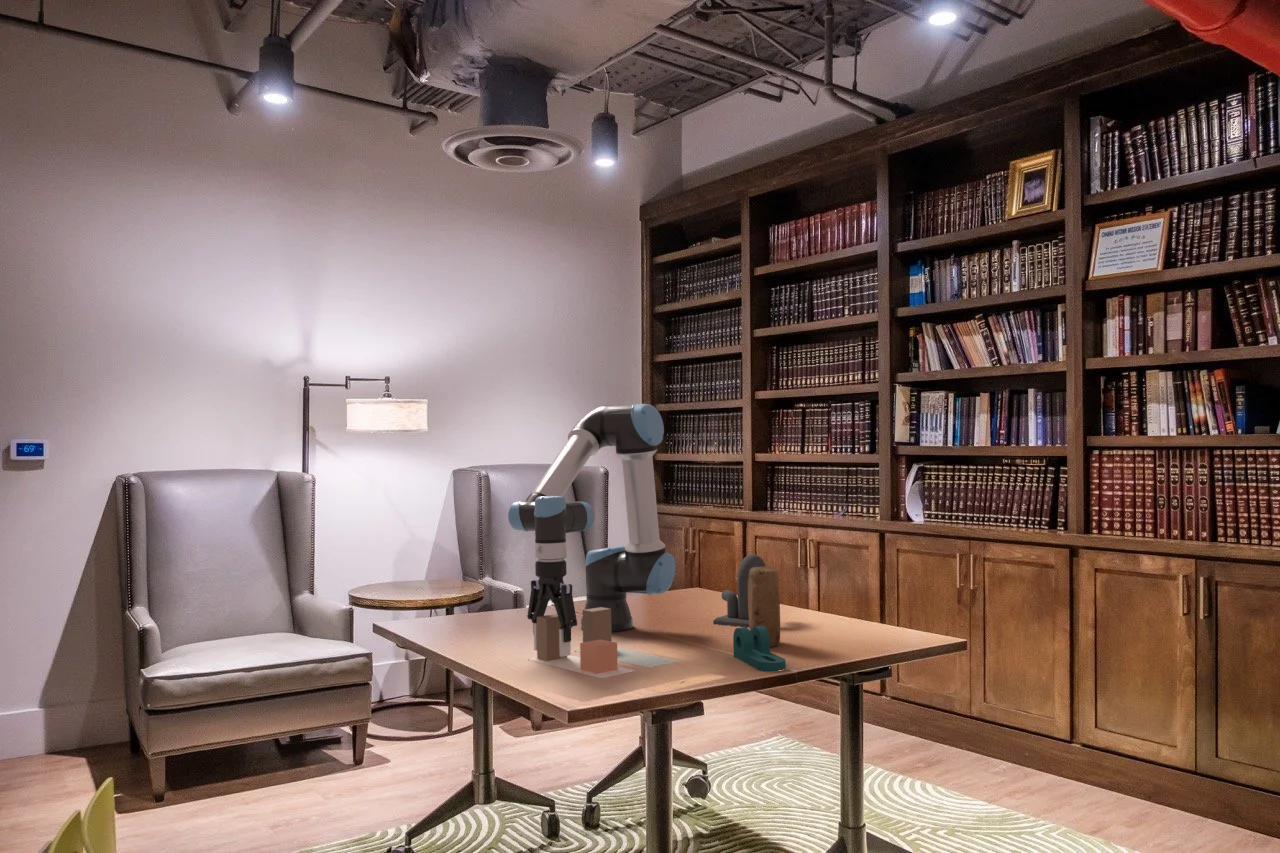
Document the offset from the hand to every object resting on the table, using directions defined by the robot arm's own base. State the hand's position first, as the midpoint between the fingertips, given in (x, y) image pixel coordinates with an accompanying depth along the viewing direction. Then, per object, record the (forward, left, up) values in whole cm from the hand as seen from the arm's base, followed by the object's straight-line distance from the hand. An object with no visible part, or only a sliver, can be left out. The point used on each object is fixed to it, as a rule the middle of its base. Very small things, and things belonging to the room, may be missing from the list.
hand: (552, 652), depth 233 cm
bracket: (+36, +35, -3) cm, 50 cm away
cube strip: (+11, 0, -3) cm, 11 cm away
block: (+21, +53, -3) cm, 57 cm away
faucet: (-3, +75, -3) cm, 75 cm away
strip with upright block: (+11, +14, -3) cm, 18 cm away
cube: (+18, 0, -1) cm, 18 cm away
